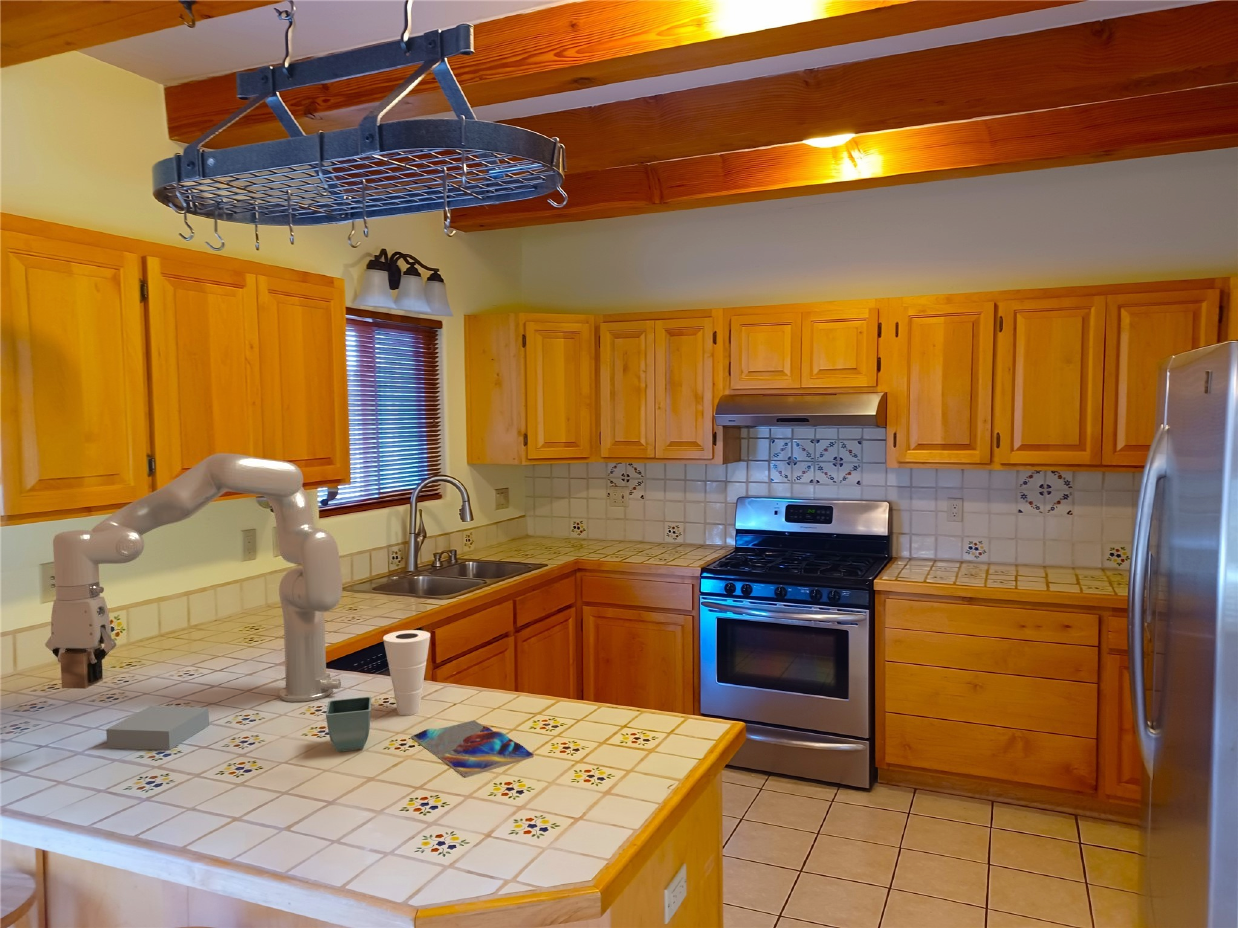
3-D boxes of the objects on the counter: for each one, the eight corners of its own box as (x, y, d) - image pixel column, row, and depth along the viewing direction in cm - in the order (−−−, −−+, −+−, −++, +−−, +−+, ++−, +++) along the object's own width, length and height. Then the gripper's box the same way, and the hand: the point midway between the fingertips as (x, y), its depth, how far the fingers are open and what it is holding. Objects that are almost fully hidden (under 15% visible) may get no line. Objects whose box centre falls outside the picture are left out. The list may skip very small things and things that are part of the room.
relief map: (410, 740, 180) (410, 731, 180) (474, 724, 189) (474, 715, 189) (465, 780, 160) (465, 770, 160) (533, 760, 169) (533, 750, 169)
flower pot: (326, 757, 170) (325, 714, 169) (329, 741, 178) (328, 699, 178) (371, 752, 172) (370, 709, 172) (372, 736, 181) (371, 695, 180)
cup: (441, 709, 197) (439, 634, 196) (406, 723, 188) (404, 644, 187) (410, 700, 203) (408, 627, 202) (375, 714, 194) (373, 637, 193)
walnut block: (102, 680, 172) (101, 647, 172) (85, 688, 167) (83, 654, 167) (80, 679, 173) (78, 646, 172) (61, 687, 168) (60, 653, 167)
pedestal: (209, 725, 188) (208, 707, 188) (169, 749, 174) (168, 731, 174) (150, 723, 189) (150, 705, 189) (107, 747, 175) (106, 729, 175)
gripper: (130, 588, 171) (134, 675, 173) (53, 587, 173) (58, 673, 174) (103, 596, 164) (108, 687, 165) (24, 595, 166) (29, 685, 167)
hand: (82, 679), depth 170 cm, fingers closed on walnut block, 5 cm apart
